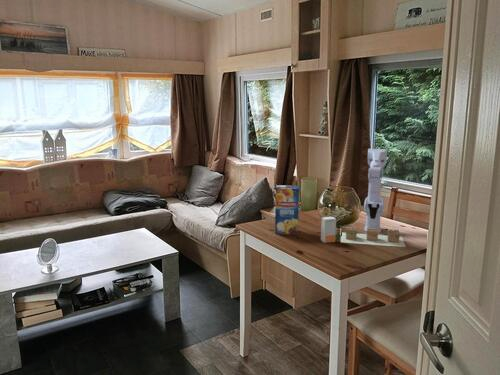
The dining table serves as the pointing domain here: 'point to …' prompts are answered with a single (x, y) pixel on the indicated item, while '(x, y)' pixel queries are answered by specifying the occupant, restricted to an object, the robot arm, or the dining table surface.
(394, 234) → the one dot block
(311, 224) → the dining table surface
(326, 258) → the dining table surface
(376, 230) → the plain block
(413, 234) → the dining table surface
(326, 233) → the skincare box
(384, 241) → the sage mat
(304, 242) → the dining table surface
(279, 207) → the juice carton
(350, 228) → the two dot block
